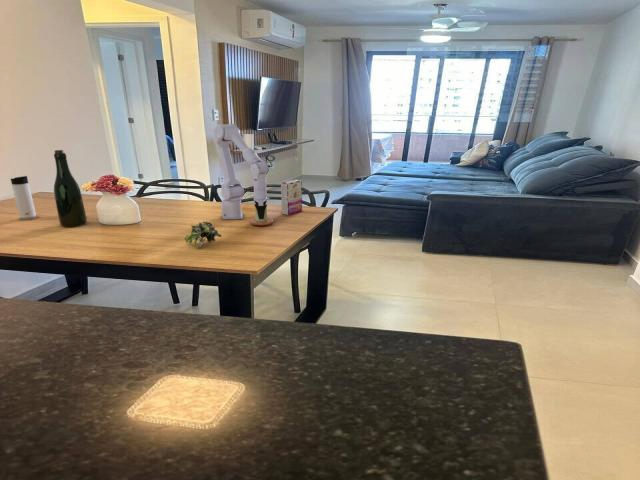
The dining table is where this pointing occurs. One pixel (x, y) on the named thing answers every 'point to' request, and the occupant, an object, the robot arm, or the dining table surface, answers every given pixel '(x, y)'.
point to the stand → (254, 222)
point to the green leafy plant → (202, 233)
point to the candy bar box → (291, 197)
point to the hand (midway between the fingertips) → (261, 217)
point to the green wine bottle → (67, 194)
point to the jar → (264, 216)
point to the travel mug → (23, 198)
